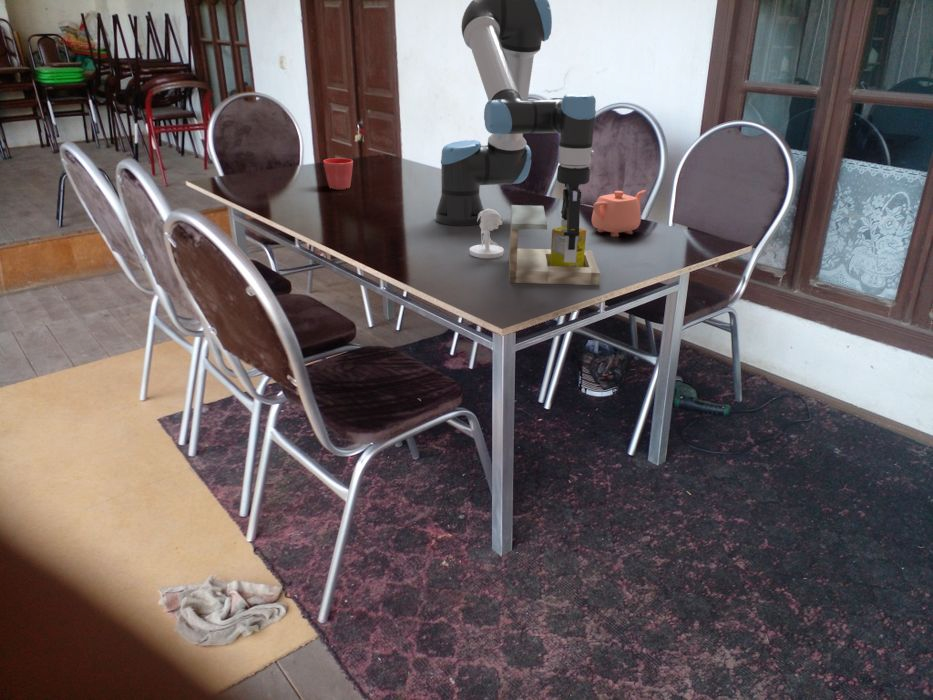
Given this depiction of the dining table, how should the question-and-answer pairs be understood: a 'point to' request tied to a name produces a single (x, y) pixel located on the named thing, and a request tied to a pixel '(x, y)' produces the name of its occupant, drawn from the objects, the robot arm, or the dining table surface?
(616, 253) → the dining table surface
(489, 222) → the figurine
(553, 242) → the supplement box
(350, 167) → the flower pot
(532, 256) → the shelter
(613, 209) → the teapot
